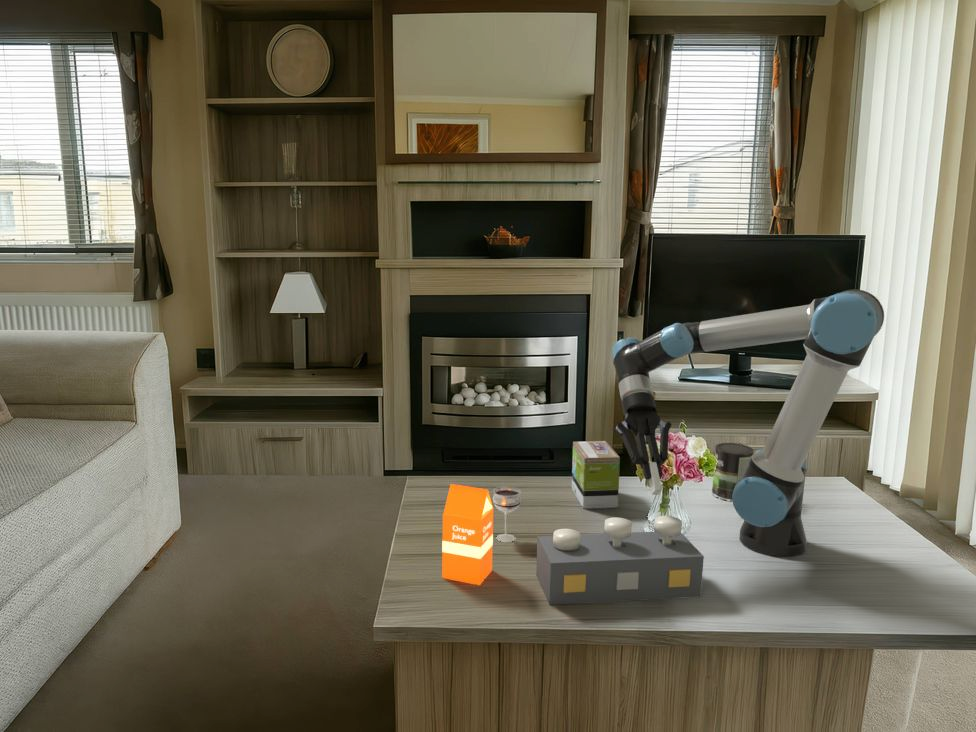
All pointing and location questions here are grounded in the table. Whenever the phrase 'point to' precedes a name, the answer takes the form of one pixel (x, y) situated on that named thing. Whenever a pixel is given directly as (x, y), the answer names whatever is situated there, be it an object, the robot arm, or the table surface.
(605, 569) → the button console
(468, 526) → the orange juice
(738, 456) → the coffee can
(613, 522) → the middle button
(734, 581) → the table surface
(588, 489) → the tea box
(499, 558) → the table surface
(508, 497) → the wineglass
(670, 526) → the button
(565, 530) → the button
